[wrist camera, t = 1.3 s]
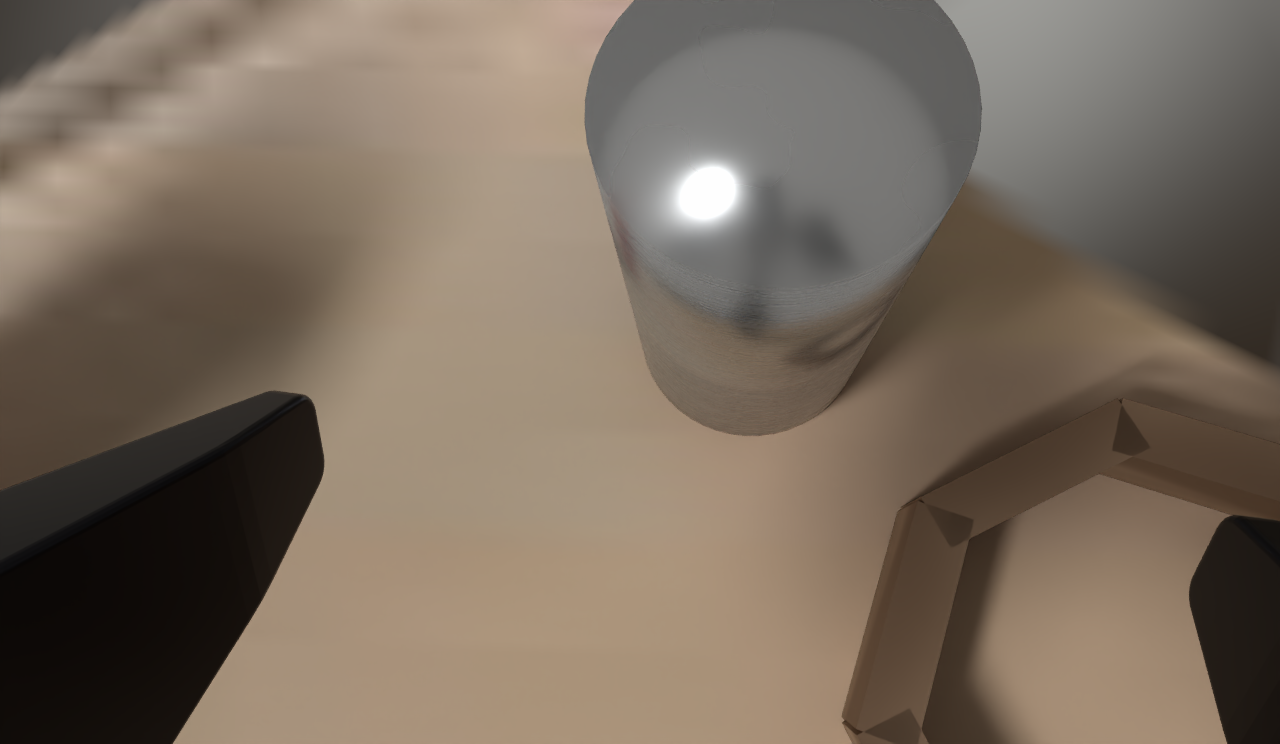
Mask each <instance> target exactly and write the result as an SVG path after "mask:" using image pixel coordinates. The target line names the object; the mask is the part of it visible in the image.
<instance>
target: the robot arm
mask: <svg viewBox="0 0 1280 744" xmlns="http://www.w3.org/2000/svg"><path fill="white" fill-rule="evenodd" d="M323 471H324V454H323V448H322V443H321V437H320V432H319V426H318V421H317V415H316V410H315V406H314V404H313V402H312V400H311V399H310V398H309V397H307V396H306V395H303V394H296V393H288V392H281V391H268V392H265V393H262V394H259V395H257V396H254V397H251V398H249V399H246V400H243V401H240V402H238V403H235V404H232V405H230V406H227V407H224V408H222V409H219V410H216V411H213V412H211V413H208V414H205V415H203V416H200V417H197V418H195V419H192V420H189V421H187V422H184V423H181V424H178V425H176V426H173V427H170V428H168V429H165V430H162V431H160V432H157V433H154V434H151V435H149V436H146V437H143V438H141V439H138V440H135V441H133V442H130V443H127V444H124V445H122V446H119V447H116V448H114V449H111V450H108V451H106V452H103V453H100V454H97V455H95V456H92V457H89V458H87V459H84V460H81V461H79V462H76V463H73V464H70V465H68V466H65V467H62V468H60V469H57V470H54V471H52V472H49V473H46V474H44V475H41V476H38V477H35V478H33V479H30V480H27V481H25V482H22V483H19V484H17V485H14V486H11V487H8V488H6V489H3V490H0V744H173V742H174V741H175V739H176V738H177V736H178V734H179V733H180V731H181V730H182V728H183V726H184V725H185V723H186V722H187V720H188V719H189V717H190V715H191V714H192V712H193V711H194V709H195V707H196V706H197V704H198V703H199V701H200V699H201V698H202V696H203V695H204V693H205V691H206V690H207V688H208V687H209V685H210V684H211V682H212V680H213V679H214V677H215V676H216V674H217V672H218V671H219V669H220V668H221V666H222V664H223V663H224V661H225V660H226V658H227V657H228V655H229V653H230V652H231V650H232V649H233V647H234V645H235V644H236V642H237V641H238V639H239V637H240V636H241V634H242V633H243V631H244V629H245V628H246V626H247V625H248V623H249V622H250V620H251V618H252V616H253V615H254V613H255V611H256V610H257V608H258V606H259V605H260V603H261V601H262V600H263V598H264V596H265V594H266V592H267V590H268V588H269V586H270V585H271V583H272V581H273V579H274V577H275V575H276V573H277V570H278V568H279V566H280V564H281V562H282V560H283V558H284V556H285V554H286V552H287V550H288V548H289V546H290V544H291V542H292V540H293V538H294V536H295V533H296V531H297V529H298V527H299V525H300V523H301V521H302V519H303V517H304V515H305V513H306V511H307V509H308V507H309V505H310V503H311V501H312V499H313V497H314V494H315V492H316V490H317V488H318V486H319V484H320V482H321V479H322V476H323ZM1189 601H1190V607H1191V611H1192V615H1193V619H1194V622H1195V626H1196V630H1197V634H1198V637H1199V641H1200V645H1201V649H1202V652H1203V656H1204V660H1205V664H1206V667H1207V671H1208V675H1209V679H1210V682H1211V686H1212V690H1213V694H1214V697H1215V701H1216V705H1217V709H1218V712H1219V716H1220V720H1221V724H1222V727H1223V731H1224V734H1225V738H1226V741H1227V744H1280V521H1278V520H1274V519H1267V518H1259V517H1251V516H1243V515H1232V516H1229V517H1227V518H1225V519H1224V520H1223V521H1222V522H1221V523H1220V524H1219V526H1218V528H1217V529H1216V531H1215V533H1214V535H1213V537H1212V539H1211V541H1210V543H1209V545H1208V547H1207V549H1206V551H1205V553H1204V555H1203V557H1202V559H1201V561H1200V563H1199V565H1198V567H1197V569H1196V571H1195V573H1194V575H1193V577H1192V580H1191V584H1190V589H1189Z"/></svg>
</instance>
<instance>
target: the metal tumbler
mask: <svg viewBox="0 0 1280 744" xmlns="http://www.w3.org/2000/svg"><path fill="white" fill-rule="evenodd" d="M981 110H982V106H981V96H980V88H979V82H978V78H977V74H976V71H975V67H974V63H973V60H972V58H971V56H970V53H969V51H968V49H967V46H966V44H965V42H964V40H963V38H962V37H961V35H960V34H959V32H958V30H957V29H956V27H955V25H954V24H953V22H952V21H951V19H950V18H949V17H948V16H947V15H946V13H945V12H944V11H943V10H942V9H941V7H940V6H939V5H938V4H937V3H936V2H935V1H934V0H634V1H633V2H632V4H631V5H630V6H629V7H628V8H627V9H626V10H625V12H624V13H623V14H622V15H621V16H620V17H619V18H618V20H617V21H616V23H615V24H614V26H613V27H612V29H611V30H610V32H609V33H608V35H607V36H606V38H605V40H604V42H603V44H602V46H601V48H600V50H599V52H598V54H597V56H596V59H595V62H594V65H593V68H592V71H591V74H590V77H589V82H588V87H587V93H586V98H585V129H586V138H587V145H588V149H589V152H590V156H591V160H592V164H593V167H594V171H595V175H596V178H597V182H598V186H599V189H600V193H601V197H602V200H603V204H604V208H605V211H606V215H607V219H608V222H609V226H610V230H611V233H612V237H613V241H614V245H615V248H616V252H617V256H618V259H619V263H620V267H621V270H622V274H623V278H624V281H625V285H626V289H627V292H628V296H629V300H630V303H631V307H632V311H633V314H634V318H635V322H636V325H637V329H638V333H639V337H640V340H641V344H642V348H643V351H644V355H645V359H646V362H647V365H648V368H649V370H650V372H651V375H652V377H653V379H654V380H655V382H656V384H657V386H658V387H659V389H660V390H661V391H662V393H663V394H664V395H665V396H666V398H667V399H668V400H669V401H670V402H671V403H672V404H673V405H674V406H675V407H676V408H677V409H678V410H680V411H681V412H682V413H684V414H685V415H686V416H688V417H689V418H691V419H692V420H694V421H696V422H698V423H700V424H701V425H704V426H706V427H709V428H711V429H714V430H716V431H720V432H724V433H728V434H734V435H742V436H761V435H769V434H775V433H779V432H783V431H786V430H789V429H792V428H794V427H797V426H799V425H802V424H803V423H805V422H807V421H809V420H810V419H812V418H814V417H815V416H816V415H818V414H819V413H820V412H822V411H823V410H824V409H826V408H827V407H828V406H829V405H830V404H831V402H832V401H833V400H834V399H835V398H836V397H837V396H838V394H839V393H840V392H841V390H842V389H843V388H844V386H845V385H846V383H847V381H848V379H849V378H850V376H851V374H852V373H853V371H854V369H855V368H856V366H857V364H858V363H859V361H860V359H861V357H862V356H863V354H864V352H865V351H866V349H867V347H868V346H869V344H870V342H871V341H872V339H873V337H874V335H875V334H876V332H877V330H878V329H879V327H880V325H881V324H882V322H883V320H884V318H885V317H886V315H887V313H888V312H889V310H890V308H891V307H892V305H893V303H894V302H895V300H896V298H897V296H898V295H899V293H900V291H901V290H902V288H903V286H904V285H905V283H906V281H907V280H908V278H909V276H910V274H911V273H912V271H913V269H914V268H915V266H916V264H917V263H918V261H919V259H920V257H921V256H922V254H923V252H924V251H925V249H926V247H927V246H928V244H929V242H930V241H931V239H932V237H933V235H934V234H935V232H936V230H937V229H938V227H939V225H940V224H941V222H942V220H943V219H944V217H945V215H946V213H947V212H948V210H949V208H950V207H951V205H952V203H953V202H954V200H955V198H956V196H957V195H958V193H959V191H960V189H961V187H962V185H963V184H964V182H965V180H966V178H967V176H968V174H969V171H970V168H971V166H972V163H973V160H974V157H975V155H976V151H977V146H978V141H979V136H980V131H981Z"/></svg>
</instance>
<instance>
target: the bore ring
mask: <svg viewBox="0 0 1280 744" xmlns="http://www.w3.org/2000/svg"><path fill="white" fill-rule="evenodd" d="M1097 474H1102V475H1105V476H1108V477H1112V478H1115V479H1118V480H1121V481H1125V482H1128V483H1131V484H1134V485H1137V486H1141V487H1144V488H1147V489H1150V490H1154V491H1157V492H1160V493H1163V494H1167V495H1170V496H1173V497H1176V498H1179V499H1183V500H1186V501H1189V502H1192V503H1196V504H1199V505H1202V506H1205V507H1209V508H1212V509H1215V510H1218V511H1221V512H1225V513H1228V514H1231V515H1243V516H1251V517H1259V518H1267V519H1274V520H1278V521H1280V444H1278V443H1274V442H1271V441H1267V440H1264V439H1260V438H1257V437H1254V436H1250V435H1247V434H1243V433H1240V432H1237V431H1233V430H1230V429H1226V428H1223V427H1220V426H1216V425H1213V424H1209V423H1206V422H1203V421H1199V420H1196V419H1192V418H1189V417H1186V416H1182V415H1179V414H1175V413H1172V412H1169V411H1165V410H1162V409H1158V408H1155V407H1152V406H1148V405H1145V404H1141V403H1138V402H1135V401H1131V400H1128V399H1124V398H1122V399H1120V400H1118V398H1117V399H1115V400H1113V401H1111V402H1109V403H1107V404H1105V405H1103V406H1101V407H1099V408H1097V409H1095V410H1093V411H1091V412H1089V413H1087V414H1085V415H1083V416H1081V417H1079V418H1077V419H1075V420H1073V421H1071V422H1069V423H1067V424H1065V425H1063V426H1061V427H1059V428H1057V429H1055V430H1053V431H1051V432H1049V433H1047V434H1045V435H1043V436H1041V437H1039V438H1037V439H1035V440H1033V441H1031V442H1029V443H1027V444H1025V445H1023V446H1021V447H1019V448H1017V449H1015V450H1013V451H1011V452H1009V453H1007V454H1005V455H1003V456H1001V457H999V458H997V459H995V460H993V461H991V462H989V463H987V464H985V465H983V466H981V467H979V468H977V469H975V470H973V471H971V472H969V473H967V474H965V475H963V476H961V477H959V478H957V479H955V480H953V481H951V482H949V483H947V484H945V485H943V486H941V487H939V488H937V489H935V490H933V491H931V492H929V493H927V494H925V495H923V496H921V497H919V498H918V499H916V500H914V501H912V502H910V503H908V504H906V505H905V506H903V507H901V510H900V511H898V513H897V516H896V520H895V523H894V527H893V531H892V534H891V538H890V542H889V545H888V549H887V553H886V556H885V560H884V564H883V567H882V571H881V575H880V578H879V582H878V585H877V589H876V593H875V596H874V600H873V604H872V607H871V611H870V615H869V618H868V622H867V626H866V629H865V633H864V637H863V640H862V644H861V647H860V651H859V655H858V658H857V662H856V666H855V669H854V673H853V677H852V680H851V684H850V688H849V691H848V695H847V699H846V702H845V706H844V709H843V713H842V718H844V719H845V720H846V721H844V722H842V723H843V725H844V727H845V729H846V731H847V733H848V735H849V737H850V739H851V741H852V743H853V744H929V743H928V741H927V739H926V737H925V736H924V734H923V732H922V730H921V729H922V725H923V721H924V717H925V713H926V709H927V705H928V701H929V697H930V693H931V689H932V685H933V681H934V677H935V673H936V669H937V665H938V661H939V657H940V653H941V649H942V645H943V641H944V637H945V633H946V629H947V626H948V622H949V618H950V614H951V610H952V606H953V602H954V598H955V594H956V590H957V586H958V582H959V578H960V574H961V570H962V566H963V562H964V558H965V554H966V550H967V546H968V542H969V539H970V538H972V537H974V536H976V535H978V534H980V533H982V532H984V531H986V530H988V529H990V528H992V527H994V526H996V525H998V524H1000V523H1002V522H1004V521H1006V520H1008V519H1010V518H1012V517H1014V516H1016V515H1018V514H1020V513H1022V512H1024V511H1026V510H1028V509H1030V508H1032V507H1034V506H1036V505H1038V504H1040V503H1042V502H1044V501H1046V500H1048V499H1050V498H1052V497H1054V496H1056V495H1057V494H1059V493H1061V492H1063V491H1065V490H1067V489H1069V488H1071V487H1073V486H1075V485H1077V484H1079V483H1081V482H1083V481H1085V480H1087V479H1089V478H1091V477H1093V476H1095V475H1097Z"/></svg>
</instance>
